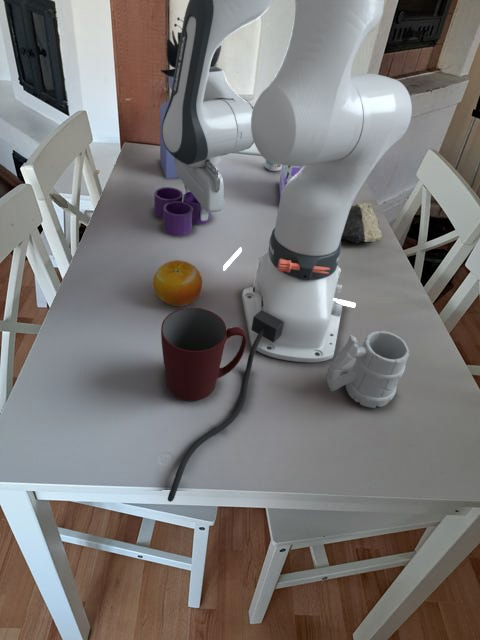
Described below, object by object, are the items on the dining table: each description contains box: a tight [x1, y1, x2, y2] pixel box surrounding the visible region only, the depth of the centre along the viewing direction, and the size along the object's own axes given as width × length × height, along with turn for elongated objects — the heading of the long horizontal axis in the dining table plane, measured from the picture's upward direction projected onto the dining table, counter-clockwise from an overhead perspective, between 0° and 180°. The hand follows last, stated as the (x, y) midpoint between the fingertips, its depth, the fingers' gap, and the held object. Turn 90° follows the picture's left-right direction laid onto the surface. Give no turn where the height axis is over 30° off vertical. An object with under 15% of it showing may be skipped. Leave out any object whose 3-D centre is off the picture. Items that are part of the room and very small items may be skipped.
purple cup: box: [153, 186, 184, 220], centre depth 106 cm, size 6×6×5 cm
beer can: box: [264, 159, 282, 172], centre depth 129 cm, size 5×5×12 cm
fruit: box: [152, 260, 203, 307], centre depth 83 cm, size 8×8×8 cm
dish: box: [162, 201, 193, 237], centre depth 102 cm, size 6×6×5 cm
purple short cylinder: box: [183, 192, 211, 225], centre depth 106 cm, size 6×6×5 cm
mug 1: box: [160, 307, 248, 402], centre depth 68 cm, size 12×9×11 cm
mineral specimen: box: [341, 202, 383, 243], centre depth 107 cm, size 13×7×15 cm
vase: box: [159, 17, 222, 179], centre depth 116 cm, size 14×12×35 cm
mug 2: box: [326, 330, 410, 409], centre depth 69 cm, size 8×12×12 cm, turn 102°
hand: (196, 210), depth 107 cm, fingers closed on purple short cylinder, 6 cm apart
